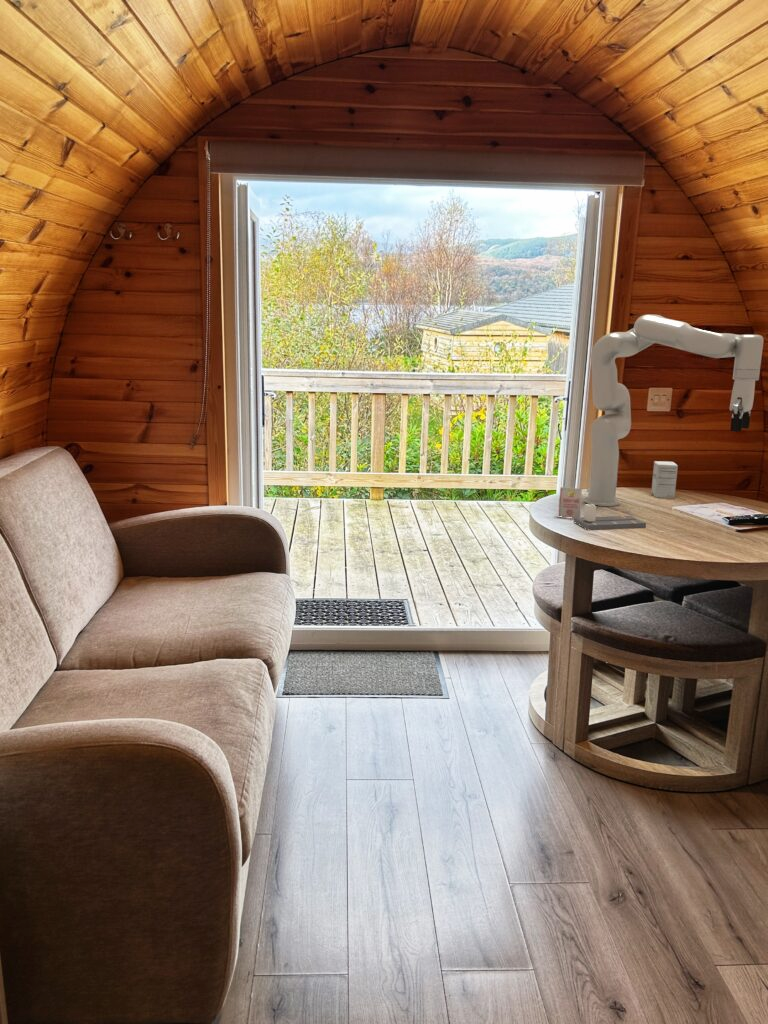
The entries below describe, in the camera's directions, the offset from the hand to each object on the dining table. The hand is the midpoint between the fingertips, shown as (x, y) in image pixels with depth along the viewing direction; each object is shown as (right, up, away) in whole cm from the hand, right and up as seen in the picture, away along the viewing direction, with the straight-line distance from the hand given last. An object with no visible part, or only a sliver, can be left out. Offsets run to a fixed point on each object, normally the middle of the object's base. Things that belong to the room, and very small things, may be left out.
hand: (739, 429), depth 254 cm
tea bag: (-51, -28, +13) cm, 60 cm away
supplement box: (-8, -20, +48) cm, 53 cm away
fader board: (-40, -30, +4) cm, 51 cm away
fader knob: (-47, -29, +2) cm, 55 cm away
